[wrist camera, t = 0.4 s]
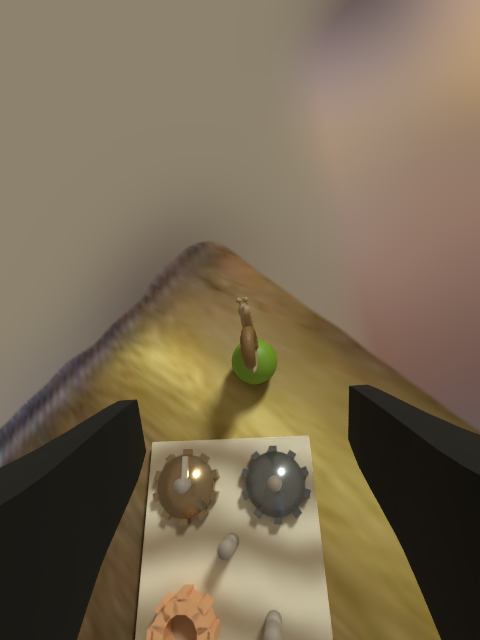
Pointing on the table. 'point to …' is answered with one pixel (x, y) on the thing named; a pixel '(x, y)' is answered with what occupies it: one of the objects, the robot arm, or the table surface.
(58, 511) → the robot arm
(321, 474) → the table surface
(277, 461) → the gear
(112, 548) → the table surface
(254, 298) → the table surface
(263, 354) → the snail figurine
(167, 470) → the gear
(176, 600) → the idler gear
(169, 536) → the gear board
